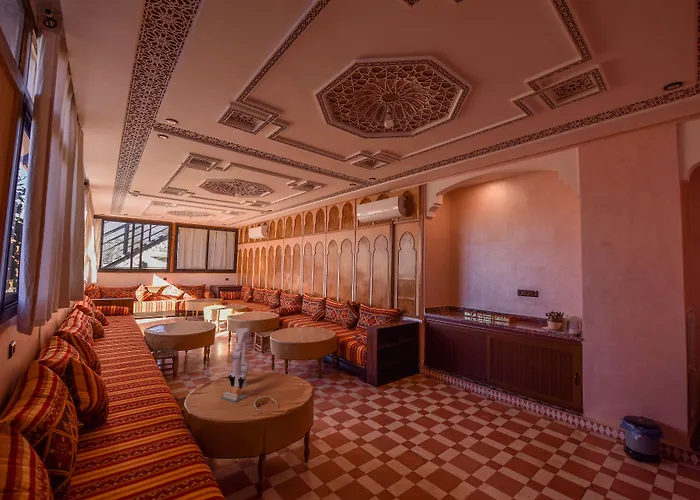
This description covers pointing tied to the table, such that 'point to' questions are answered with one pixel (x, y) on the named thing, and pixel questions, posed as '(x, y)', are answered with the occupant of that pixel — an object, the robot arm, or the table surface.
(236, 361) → the robot arm
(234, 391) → the block
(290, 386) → the table surface
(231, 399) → the board
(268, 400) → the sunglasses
